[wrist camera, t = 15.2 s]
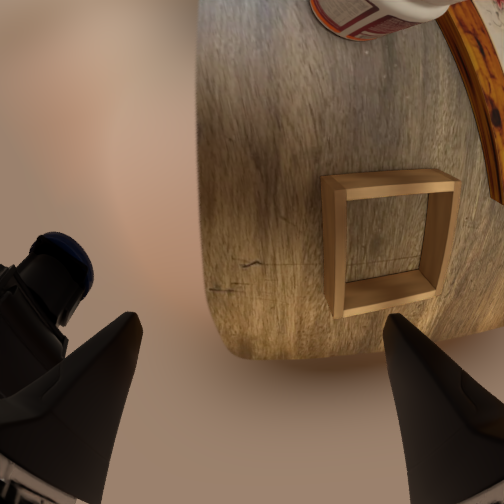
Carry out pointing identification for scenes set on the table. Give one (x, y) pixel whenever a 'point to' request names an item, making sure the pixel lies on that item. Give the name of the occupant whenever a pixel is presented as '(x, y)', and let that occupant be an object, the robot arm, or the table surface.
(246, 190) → the table surface
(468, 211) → the table surface
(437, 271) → the square wooden frame
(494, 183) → the picture frame
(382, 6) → the pill bottle
